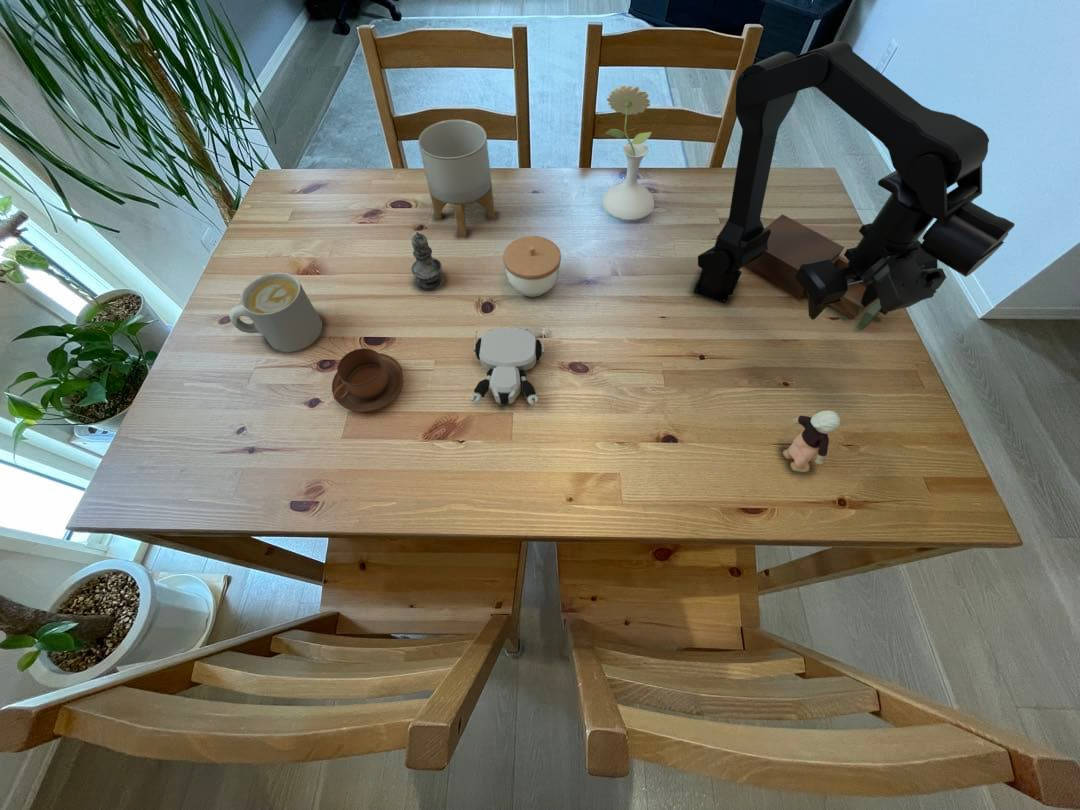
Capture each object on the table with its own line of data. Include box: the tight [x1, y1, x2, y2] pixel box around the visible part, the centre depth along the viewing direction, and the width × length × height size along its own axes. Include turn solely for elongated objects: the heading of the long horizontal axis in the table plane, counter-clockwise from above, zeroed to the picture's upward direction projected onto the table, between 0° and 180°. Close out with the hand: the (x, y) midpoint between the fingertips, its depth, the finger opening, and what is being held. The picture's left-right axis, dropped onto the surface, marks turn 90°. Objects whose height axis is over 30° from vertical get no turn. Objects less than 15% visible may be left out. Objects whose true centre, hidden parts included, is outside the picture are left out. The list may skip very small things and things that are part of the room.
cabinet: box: [744, 214, 845, 300], centre depth 100 cm, size 14×12×6 cm
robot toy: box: [469, 326, 545, 406], centre depth 88 cm, size 12×4×15 cm
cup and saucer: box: [331, 347, 404, 413], centre depth 86 cm, size 12×12×6 cm
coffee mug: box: [229, 271, 323, 353], centre depth 91 cm, size 13×10×10 cm
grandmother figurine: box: [782, 409, 841, 473], centre depth 75 cm, size 8×4×13 cm, turn 25°
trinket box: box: [502, 235, 562, 298], centre depth 97 cm, size 11×11×9 cm
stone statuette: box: [410, 231, 444, 292], centre depth 97 cm, size 6×6×12 cm
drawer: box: [827, 255, 889, 330], centre depth 95 cm, size 14×10×4 cm
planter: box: [417, 119, 496, 237], centre depth 105 cm, size 13×13×18 cm
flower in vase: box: [601, 84, 655, 222], centre depth 102 cm, size 13×11×25 cm
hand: (837, 311), depth 79 cm, fingers open, 9 cm apart
